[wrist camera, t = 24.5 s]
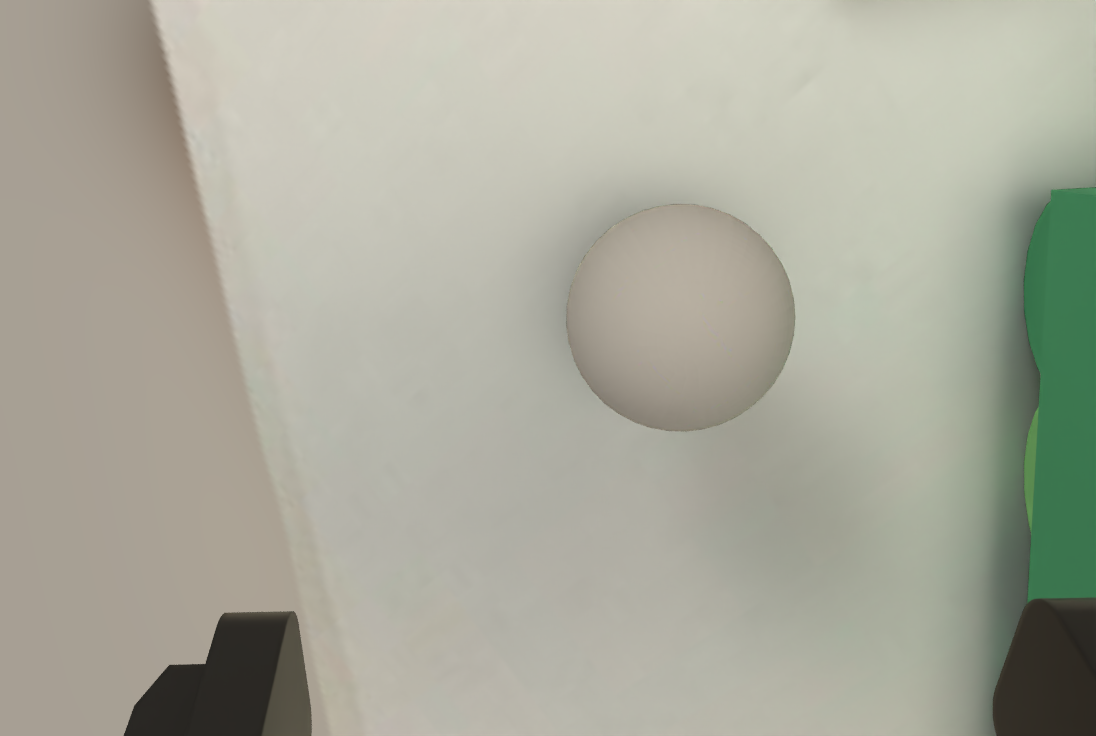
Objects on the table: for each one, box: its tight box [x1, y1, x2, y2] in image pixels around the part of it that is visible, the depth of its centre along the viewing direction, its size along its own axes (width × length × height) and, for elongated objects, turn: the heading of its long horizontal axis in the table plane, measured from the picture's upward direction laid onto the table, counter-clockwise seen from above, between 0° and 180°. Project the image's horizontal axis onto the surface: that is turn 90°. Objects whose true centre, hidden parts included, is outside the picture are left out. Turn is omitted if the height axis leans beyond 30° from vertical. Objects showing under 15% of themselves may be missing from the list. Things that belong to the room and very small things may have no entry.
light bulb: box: [566, 204, 795, 431], centre depth 29 cm, size 6×6×10 cm
